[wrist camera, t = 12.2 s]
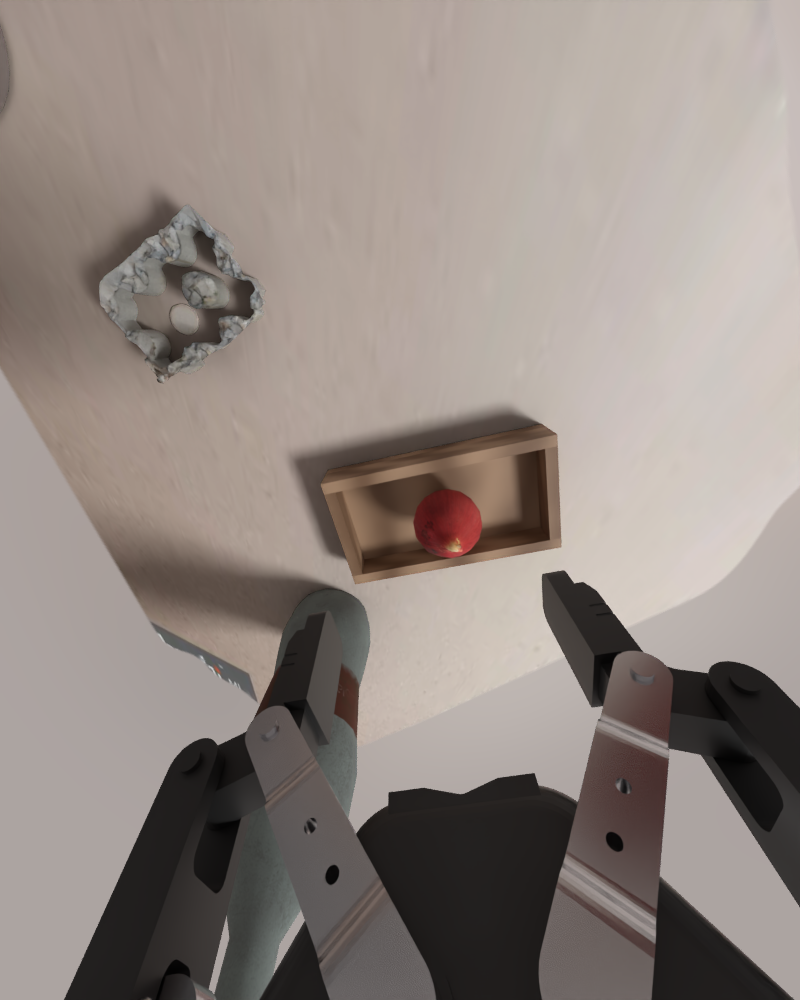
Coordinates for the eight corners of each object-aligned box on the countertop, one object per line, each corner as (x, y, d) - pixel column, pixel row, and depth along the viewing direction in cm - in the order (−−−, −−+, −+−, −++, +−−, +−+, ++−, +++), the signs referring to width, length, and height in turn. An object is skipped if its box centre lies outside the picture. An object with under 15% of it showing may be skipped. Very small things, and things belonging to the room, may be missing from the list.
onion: (434, 539, 36) (441, 593, 29) (401, 498, 34) (399, 543, 27) (485, 510, 35) (505, 558, 27) (452, 464, 33) (465, 503, 25)
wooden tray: (359, 563, 39) (355, 584, 35) (328, 470, 34) (320, 484, 31) (547, 528, 37) (561, 547, 33) (541, 424, 32) (557, 434, 29)
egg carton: (186, 383, 31) (156, 391, 27) (116, 297, 28) (73, 293, 24) (283, 312, 28) (264, 311, 25) (217, 211, 26) (185, 191, 22)
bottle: (286, 634, 43) (91, 1148, 16) (300, 575, 39) (78, 1119, 12) (361, 651, 44) (297, 1157, 17) (382, 596, 41) (344, 1133, 13)
